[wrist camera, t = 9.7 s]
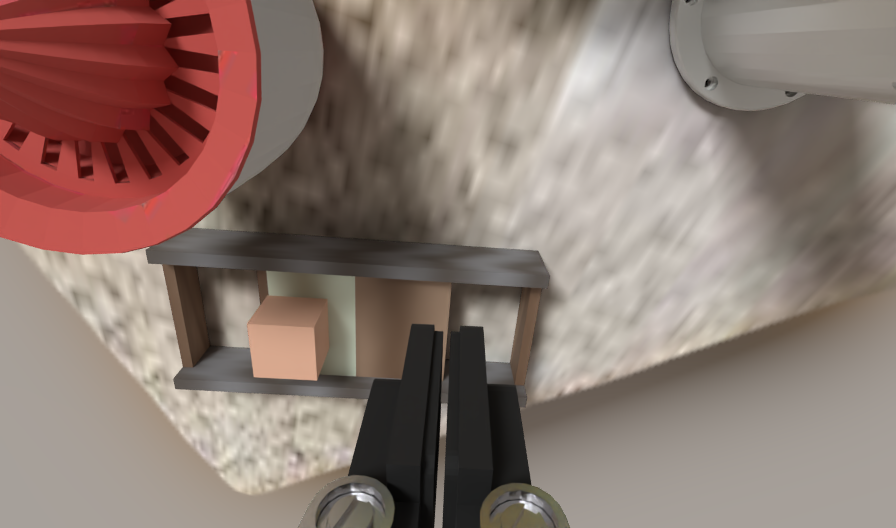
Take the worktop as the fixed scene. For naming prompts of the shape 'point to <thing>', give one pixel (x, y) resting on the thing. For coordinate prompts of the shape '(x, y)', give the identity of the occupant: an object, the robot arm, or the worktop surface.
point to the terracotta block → (289, 337)
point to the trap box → (342, 304)
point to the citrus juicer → (144, 112)
